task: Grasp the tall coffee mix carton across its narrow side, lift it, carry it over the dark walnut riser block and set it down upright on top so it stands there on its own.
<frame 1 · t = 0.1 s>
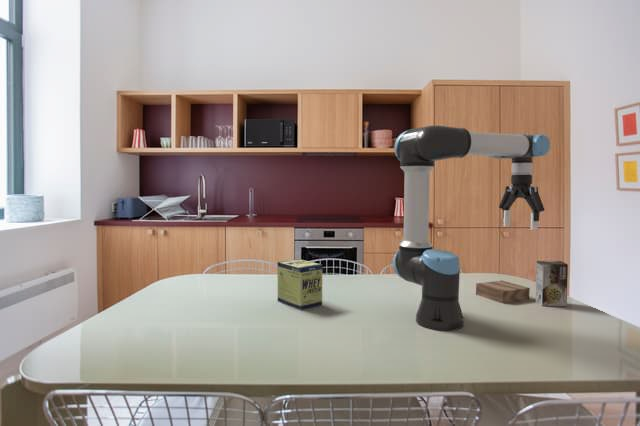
hand: (519, 227, 173), 28 cm above the table, fingers open, 13 cm apart
coffee box: (550, 304, 165), on the table
protein box: (299, 303, 166), on the table
walnut riser block: (501, 297, 175), on the table
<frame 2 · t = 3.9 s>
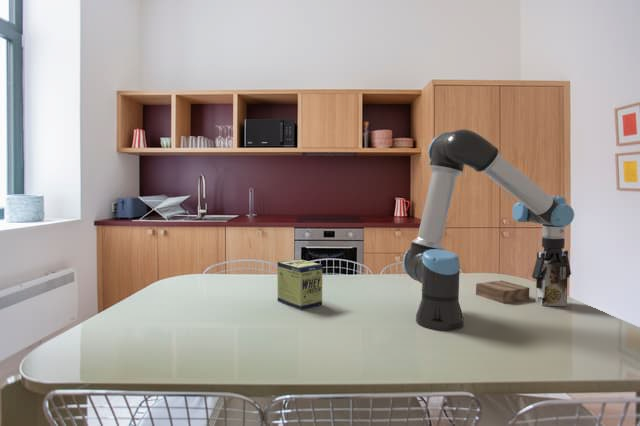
hand: (551, 295, 165), 3 cm above the table, fingers closed on coffee box, 10 cm apart
coffee box: (550, 304, 165), on the table, touching gripper
everything else where it was.
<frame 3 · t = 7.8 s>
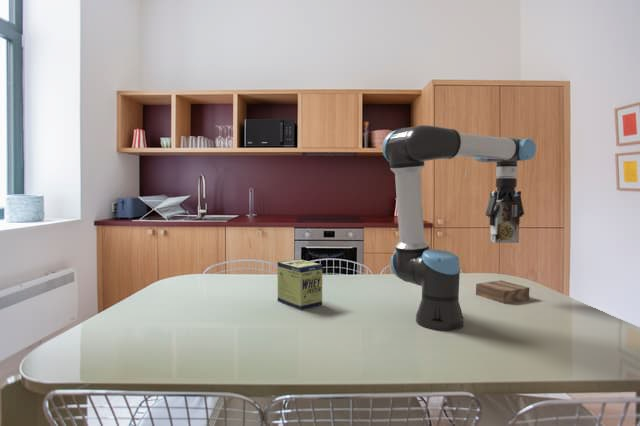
hand: (504, 233, 173), 26 cm above the table, fingers closed on coffee box, 10 cm apart
coffee box: (504, 242, 173), point 22 cm above the table, touching gripper
everything else where it was.
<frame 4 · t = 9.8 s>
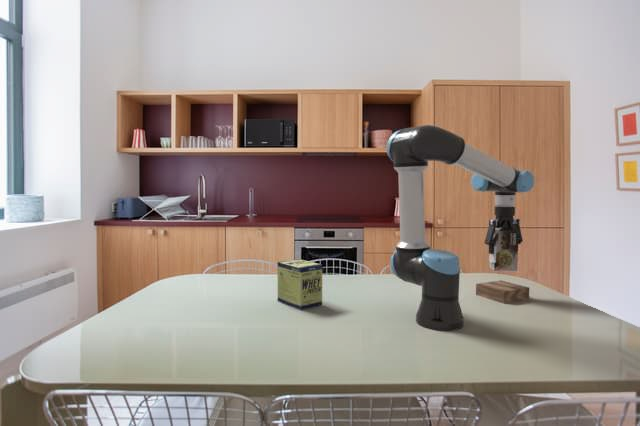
hand: (503, 260, 174), 15 cm above the table, fingers closed on coffee box, 10 cm apart
coffee box: (503, 269, 174), point 11 cm above the table, touching gripper
everything else where it was.
when the fingers open (10 cm above the table, at t = 11.8 s): coffee box drops 2 cm, resting on walnut riser block.
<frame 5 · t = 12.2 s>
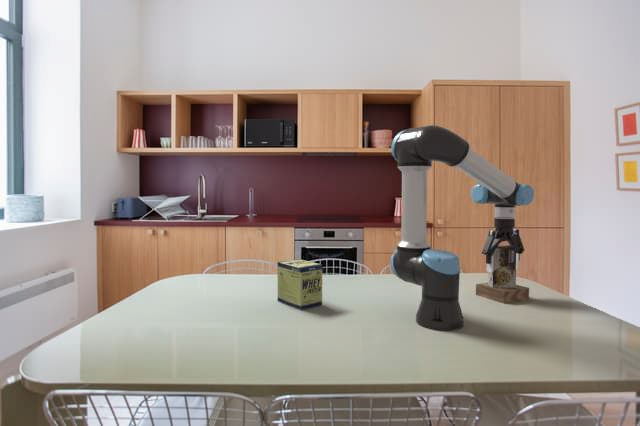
hand: (502, 270, 174), 11 cm above the table, fingers open, 13 cm apart
coffee box: (501, 286, 175), point 4 cm above the table, touching walnut riser block
walnut riser block: (501, 298, 175), on the table, touching coffee box
everything else where it was.
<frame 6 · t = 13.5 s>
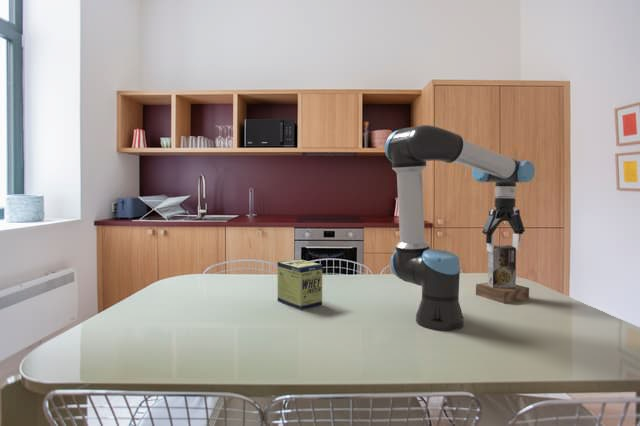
hand: (502, 250, 174), 19 cm above the table, fingers open, 13 cm apart
nothing on the table moved.
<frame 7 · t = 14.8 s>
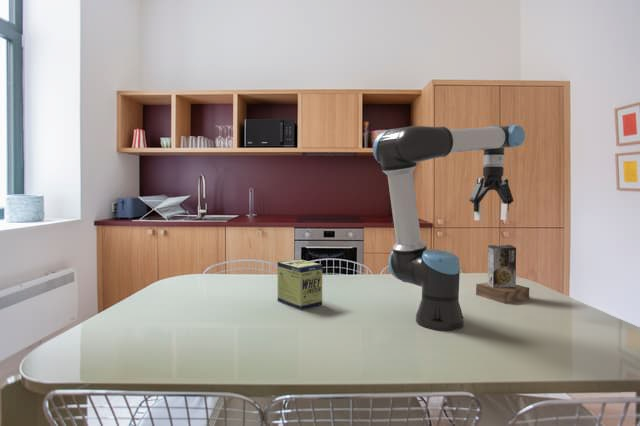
hand: (490, 220, 173), 31 cm above the table, fingers open, 13 cm apart
nothing on the table moved.
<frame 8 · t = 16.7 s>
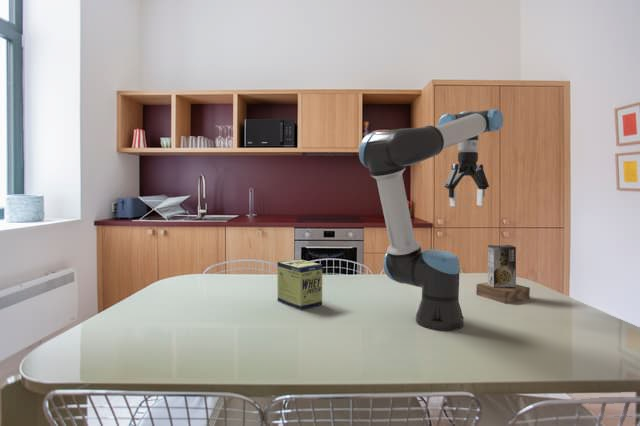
hand: (466, 205, 172), 37 cm above the table, fingers open, 13 cm apart
at the end: coffee box inside the target area on the walnut riser block (0.6 cm from its centre), point 4.9 cm above the walnut riser block's base; coffee box tilted 2°; the gripper is holding nothing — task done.
